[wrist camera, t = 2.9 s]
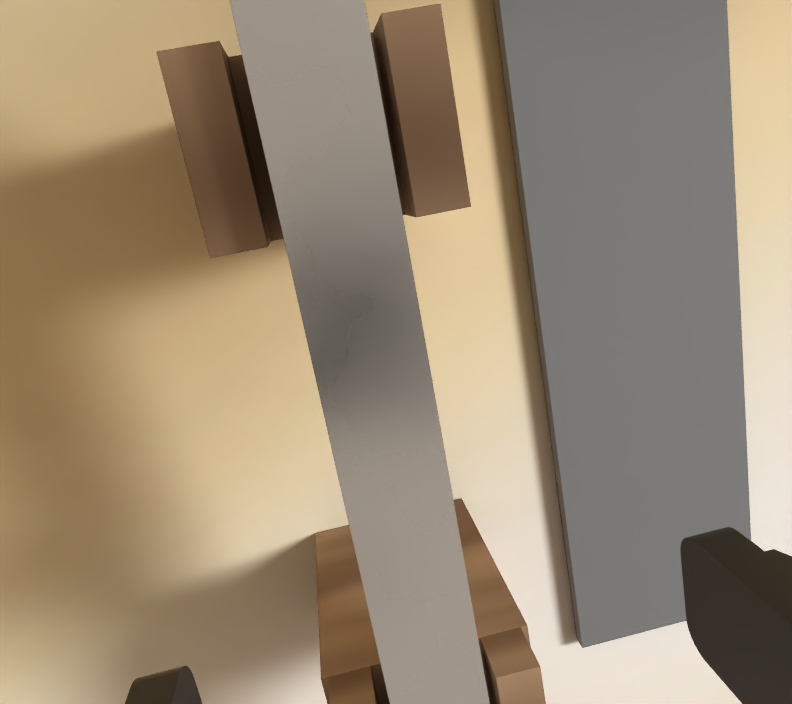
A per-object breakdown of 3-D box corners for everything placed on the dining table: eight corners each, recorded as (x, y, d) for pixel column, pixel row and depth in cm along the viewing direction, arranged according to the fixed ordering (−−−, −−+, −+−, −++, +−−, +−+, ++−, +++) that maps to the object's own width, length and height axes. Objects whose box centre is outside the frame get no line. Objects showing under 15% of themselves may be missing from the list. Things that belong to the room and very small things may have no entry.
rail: (217, -53, 14) (198, -108, 11) (340, -73, 14) (348, -130, 11) (417, 828, 20) (434, 919, 17) (500, 804, 20) (528, 891, 18)
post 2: (315, 533, 26) (322, 723, 17) (461, 498, 26) (547, 664, 17) (336, 618, 27) (353, 842, 18) (476, 583, 27) (564, 782, 18)
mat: (484, -70, 22) (489, -77, 21) (710, -106, 22) (721, -114, 22) (576, 638, 29) (582, 648, 28) (744, 594, 30) (753, 602, 29)
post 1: (212, 111, 22) (145, 53, 12) (388, 80, 22) (449, 2, 13) (241, 231, 23) (200, 260, 13) (409, 198, 23) (480, 204, 14)
